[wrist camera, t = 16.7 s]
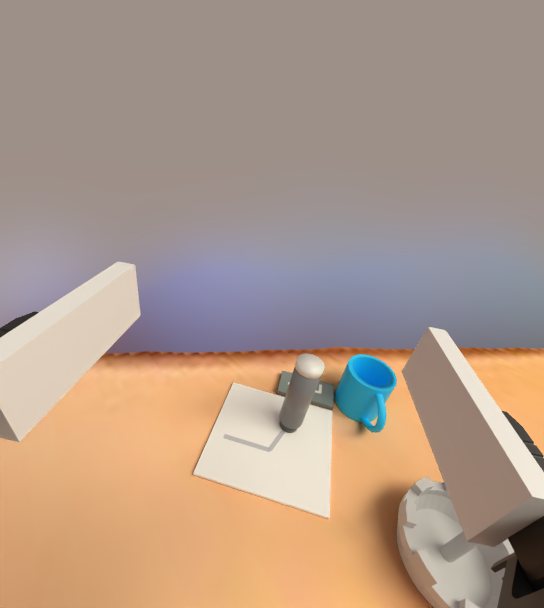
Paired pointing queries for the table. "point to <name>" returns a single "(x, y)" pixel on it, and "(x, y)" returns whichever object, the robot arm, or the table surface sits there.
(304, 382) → the marker
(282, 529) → the table surface
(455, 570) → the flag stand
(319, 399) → the dark grey flat block
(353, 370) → the mug
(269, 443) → the paper
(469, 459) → the robot arm
